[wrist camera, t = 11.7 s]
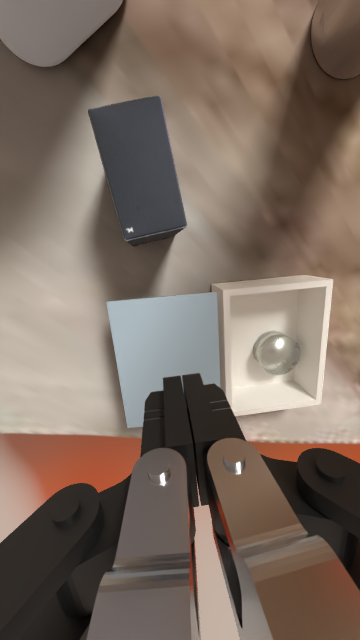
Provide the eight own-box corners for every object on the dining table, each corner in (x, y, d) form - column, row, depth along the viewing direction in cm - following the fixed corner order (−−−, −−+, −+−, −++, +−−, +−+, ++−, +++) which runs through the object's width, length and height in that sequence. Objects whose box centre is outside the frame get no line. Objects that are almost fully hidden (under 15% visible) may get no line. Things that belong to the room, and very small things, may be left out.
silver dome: (281, 323, 37) (291, 329, 34) (294, 354, 39) (306, 362, 36) (246, 342, 37) (254, 350, 34) (261, 372, 39) (270, 382, 36)
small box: (179, 235, 32) (191, 228, 22) (131, 247, 32) (122, 245, 22) (159, 145, 29) (163, 90, 19) (106, 157, 29) (82, 107, 19)
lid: (106, 302, 28) (107, 301, 29) (127, 428, 33) (128, 425, 34) (217, 292, 29) (216, 291, 29) (221, 417, 34) (220, 415, 34)
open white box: (304, 274, 36) (333, 279, 30) (297, 382, 41) (320, 404, 35) (211, 283, 35) (223, 290, 29) (215, 393, 40) (226, 417, 34)
